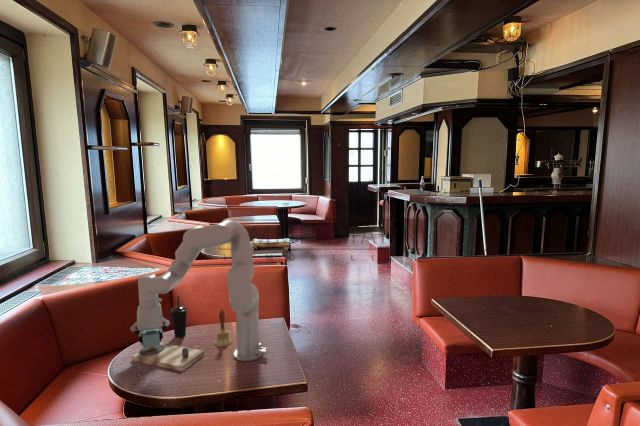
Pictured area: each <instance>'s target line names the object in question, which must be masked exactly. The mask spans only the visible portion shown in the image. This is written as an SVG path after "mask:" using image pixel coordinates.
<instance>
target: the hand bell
mask: <svg viewBox="0 0 640 426" xmlns="http://www.w3.org/2000/svg"><path fill="white" fill-rule="evenodd" d="M218 318H219V322H220V330H219V331H218V332H217V337H216V339H215V341H214V343H213V344H214V346H215V347H219V348H222V347H223V348H224V347H227V346H228V347H229V346H231V345H232V343H233V339H232V338H231V337H230V336H229V332H228V330H227V329H225V328H226V326H225V321H226V315H225V311H224V309H220V310H219V314H218Z"/></svg>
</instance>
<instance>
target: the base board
mask: <svg viewBox="0 0 640 426" xmlns="http://www.w3.org/2000/svg"><path fill="white" fill-rule="evenodd" d="M203 356H205V351H204V350H201V349H196V348H191V347H187V346H180V345H175V344H170V343H164V342H160V345H158V346H153V347H147V348H143V347H142V348H141V349H140V350H139V352H136V353H135V354H134V355H132V356H131V361H133V362H137V363H141V364H146V365H150V366H151V365H152V366H157V367H160V368H165V369H169V370H173V371H179V372H183V371H185V370H186V369H187V368H189V367H190V366H192V365H193V364H194V363H196V362H197V361H198V360H200V359H201V358H202V357H203Z"/></svg>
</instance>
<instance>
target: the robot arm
mask: <svg viewBox="0 0 640 426" xmlns="http://www.w3.org/2000/svg"><path fill="white" fill-rule="evenodd" d="M229 242H230V243H229ZM228 243H229V244H230V255H231V260H232V261H231V264H232V265H231V267H230V268H229V270H228V272H227V275H226V281H227V283H226V284H227V289H228V299H229V304H230V307H231V309H232V310H233V311H234V312H235V322H236V323H235V325H236V326H235V327H236V349H235V350H234V352H233V358H234V359H236V360H238V361H241V362H250V361H254V360H255V361H256V360H257V359H259V358H261V356H263V355H265V356H267V353H268V350H267V349H268V348H267V347H263V346H262V343H261V342H260V331H259V330H260V328H259V327H260V326H259V325H260V322H259V318H260V317H259V306H260V305H259V301H260V292H259V289H258V287H257V286H256V285H255V284H254V283H252V279H253V277H254V274H255V266H254V260H253V253H252V244H251V239H250V235H249V232H248V231H247V229H246V228H245V226H243V224H242V223H240V222H238V221H235V220H232V219H226V220H222V221H221V222H218V223H217V224H213V225H208V226H204V225H195V226H194V227H190V228H189V229H187V230H186V231H185V232H184V233H183V236H182V242H181V243H180V245H179V246H178V248H177V249H176V250H175V253H174V255H175V259H174V261H173V262H172V263H171V265H170V267H168V270H166V272H164V273H162V274H160V275H156V274H155V273H144V274H141V275H140V276H138V279H137V285H138V287H137V288H138V301H139V302H138V303H139V305H138V306H137V311H136V321H135V322H134V323H133V325H131V326H130V327H129V330H130V331H131V332H132V333H134V334H135V335H137V336H138V341H139V344H141V346H143V338H142V334H143V331H146V330H152V329H157V328H158V329H159V337H160V343H162V340H163V339H164V338H163V334H164V331H165V330H166V329H167V328H168V326H169V325H170V324H171V321H170V320H168V319H167V318H165V317H164V316H163V308H162V304H161V302H163V298H161V297H159V295H165V294H168V293H169V292H170V291H172V290H173V289H174V288H175V287H177V286H178V285H179V283H180V282H181V281H182V280H183V279H184V277H185V275H186V274H187V273H188V271H189V270H190V268H191V266H192V265H193V263H195V260H196V259H197V258H198V256H199V254H200V253H201V252H202V250H204V249H206V248H212V247H218V246H222V245H225V244H228ZM164 323H165V324H164ZM136 328H137V329H136Z"/></svg>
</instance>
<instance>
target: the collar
mask: <svg viewBox="0 0 640 426" xmlns="http://www.w3.org/2000/svg"><path fill="white" fill-rule="evenodd" d="M142 338H143V345H142V348H147V347H153V346H158V345H160V343H161V342H160V337H159V329H158V328H154V329H148V330H144V331H143V333H142Z"/></svg>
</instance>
